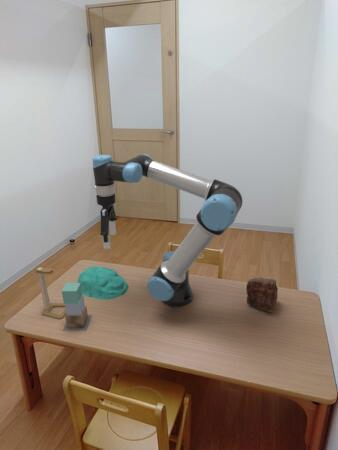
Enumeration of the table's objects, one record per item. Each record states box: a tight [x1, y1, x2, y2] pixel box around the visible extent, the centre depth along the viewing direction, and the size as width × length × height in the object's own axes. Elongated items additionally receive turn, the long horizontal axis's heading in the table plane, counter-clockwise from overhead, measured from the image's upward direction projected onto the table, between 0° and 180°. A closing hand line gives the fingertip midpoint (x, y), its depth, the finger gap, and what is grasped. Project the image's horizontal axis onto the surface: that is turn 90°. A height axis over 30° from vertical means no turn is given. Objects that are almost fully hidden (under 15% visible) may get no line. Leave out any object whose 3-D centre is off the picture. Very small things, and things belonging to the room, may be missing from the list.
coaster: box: [62, 314, 93, 332], centre depth 143 cm, size 10×10×1 cm
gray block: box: [64, 295, 86, 316], centre depth 139 cm, size 6×6×6 cm
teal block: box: [61, 282, 82, 304], centre depth 137 cm, size 6×6×6 cm
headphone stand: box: [35, 266, 66, 320], centre depth 146 cm, size 10×11×22 cm
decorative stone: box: [76, 265, 129, 300], centre depth 166 cm, size 21×27×10 cm
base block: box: [64, 305, 89, 328], centre depth 142 cm, size 7×7×6 cm
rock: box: [245, 277, 279, 313], centre depth 147 cm, size 14×12×15 cm
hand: (110, 241), depth 144 cm, fingers open, 13 cm apart
